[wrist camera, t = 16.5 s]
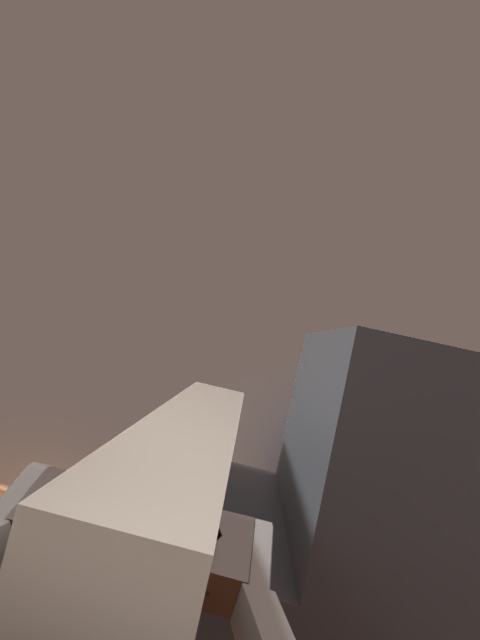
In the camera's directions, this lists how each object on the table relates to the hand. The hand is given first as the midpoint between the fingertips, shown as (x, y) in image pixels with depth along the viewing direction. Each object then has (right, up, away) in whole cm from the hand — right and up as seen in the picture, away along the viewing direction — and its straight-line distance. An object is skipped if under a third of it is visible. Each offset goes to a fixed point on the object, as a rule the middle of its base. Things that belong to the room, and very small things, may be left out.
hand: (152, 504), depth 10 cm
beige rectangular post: (0, -2, +7) cm, 7 cm away
